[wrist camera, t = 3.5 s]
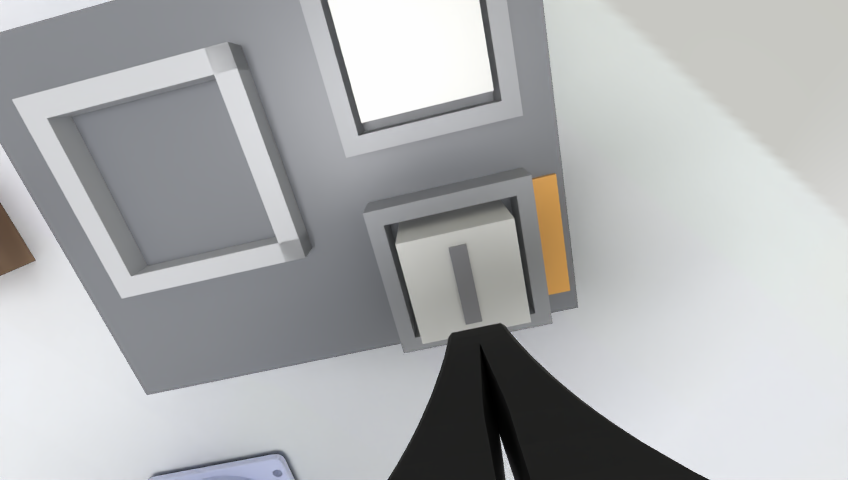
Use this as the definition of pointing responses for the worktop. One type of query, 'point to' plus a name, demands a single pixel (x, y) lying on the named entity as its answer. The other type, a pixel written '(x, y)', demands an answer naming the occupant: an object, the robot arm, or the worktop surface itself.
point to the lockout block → (11, 246)
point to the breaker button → (463, 270)
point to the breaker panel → (279, 166)
